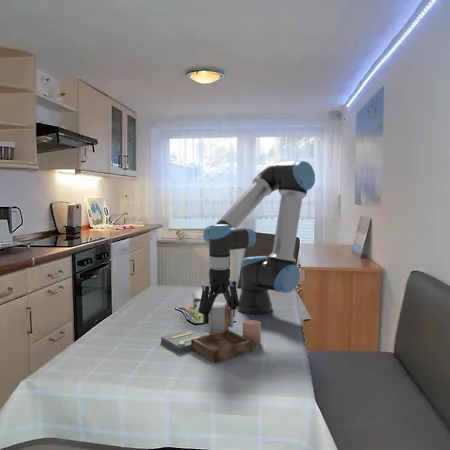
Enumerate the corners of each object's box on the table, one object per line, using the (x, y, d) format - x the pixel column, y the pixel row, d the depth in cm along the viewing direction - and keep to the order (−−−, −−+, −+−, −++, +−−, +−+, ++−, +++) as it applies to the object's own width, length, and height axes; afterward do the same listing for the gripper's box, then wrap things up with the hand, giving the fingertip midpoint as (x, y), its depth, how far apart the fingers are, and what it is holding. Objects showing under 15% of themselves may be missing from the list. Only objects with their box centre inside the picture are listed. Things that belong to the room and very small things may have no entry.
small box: (224, 337, 142) (224, 308, 142) (209, 336, 144) (209, 307, 143) (229, 330, 150) (229, 302, 149) (214, 329, 151) (214, 301, 151)
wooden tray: (227, 339, 141) (227, 329, 141) (252, 351, 131) (252, 340, 130) (191, 349, 132) (191, 339, 131) (215, 363, 121) (215, 351, 121)
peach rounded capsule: (252, 338, 142) (252, 319, 141) (264, 343, 137) (264, 323, 137) (239, 342, 138) (239, 322, 138) (250, 347, 134) (251, 327, 133)
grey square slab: (190, 334, 145) (190, 327, 145) (210, 344, 136) (210, 337, 136) (161, 342, 138) (161, 334, 138) (180, 353, 128) (180, 345, 128)
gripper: (236, 263, 155) (236, 320, 157) (187, 269, 141) (187, 332, 143) (249, 265, 149) (249, 325, 151) (200, 273, 135) (200, 338, 137)
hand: (219, 329), depth 147 cm, fingers closed on small box, 9 cm apart
